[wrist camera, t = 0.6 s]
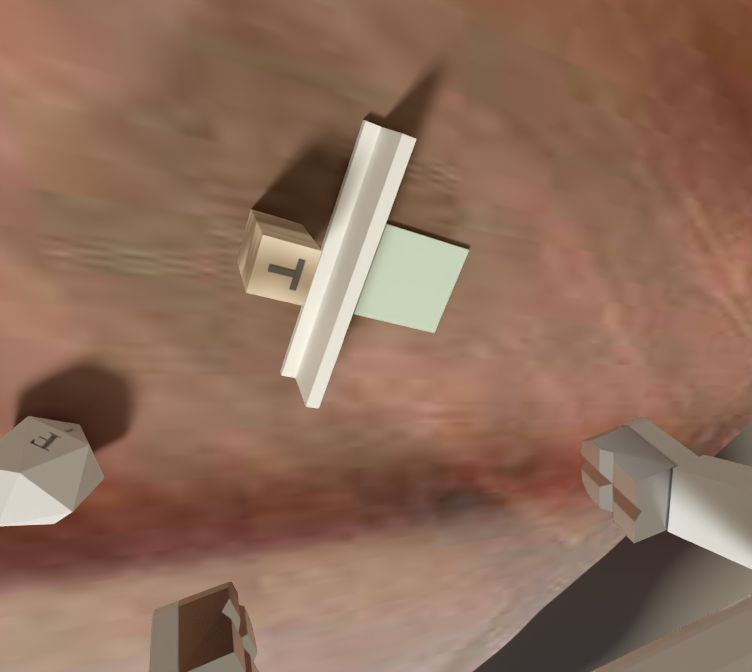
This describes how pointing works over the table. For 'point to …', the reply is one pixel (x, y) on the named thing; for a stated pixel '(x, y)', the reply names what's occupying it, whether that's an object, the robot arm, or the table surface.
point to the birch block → (277, 258)
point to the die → (44, 471)
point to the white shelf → (346, 256)
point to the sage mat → (410, 279)
